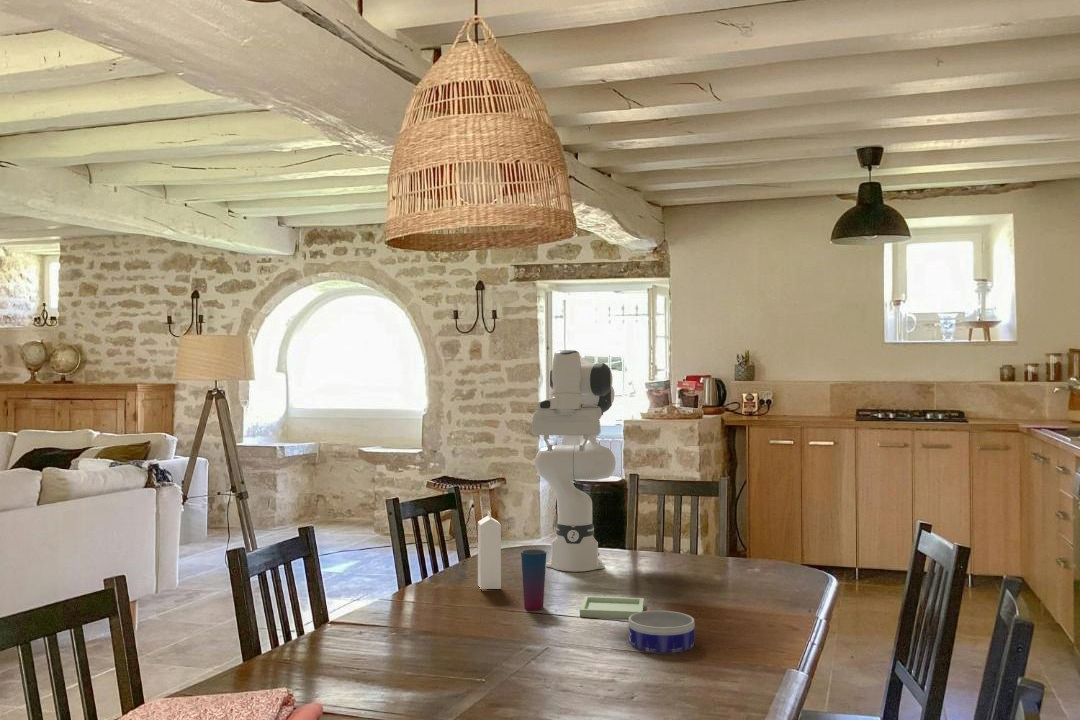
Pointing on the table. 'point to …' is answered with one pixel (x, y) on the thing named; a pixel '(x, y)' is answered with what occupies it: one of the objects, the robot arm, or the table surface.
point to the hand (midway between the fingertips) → (566, 451)
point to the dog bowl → (661, 631)
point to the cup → (533, 577)
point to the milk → (489, 553)
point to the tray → (610, 607)
